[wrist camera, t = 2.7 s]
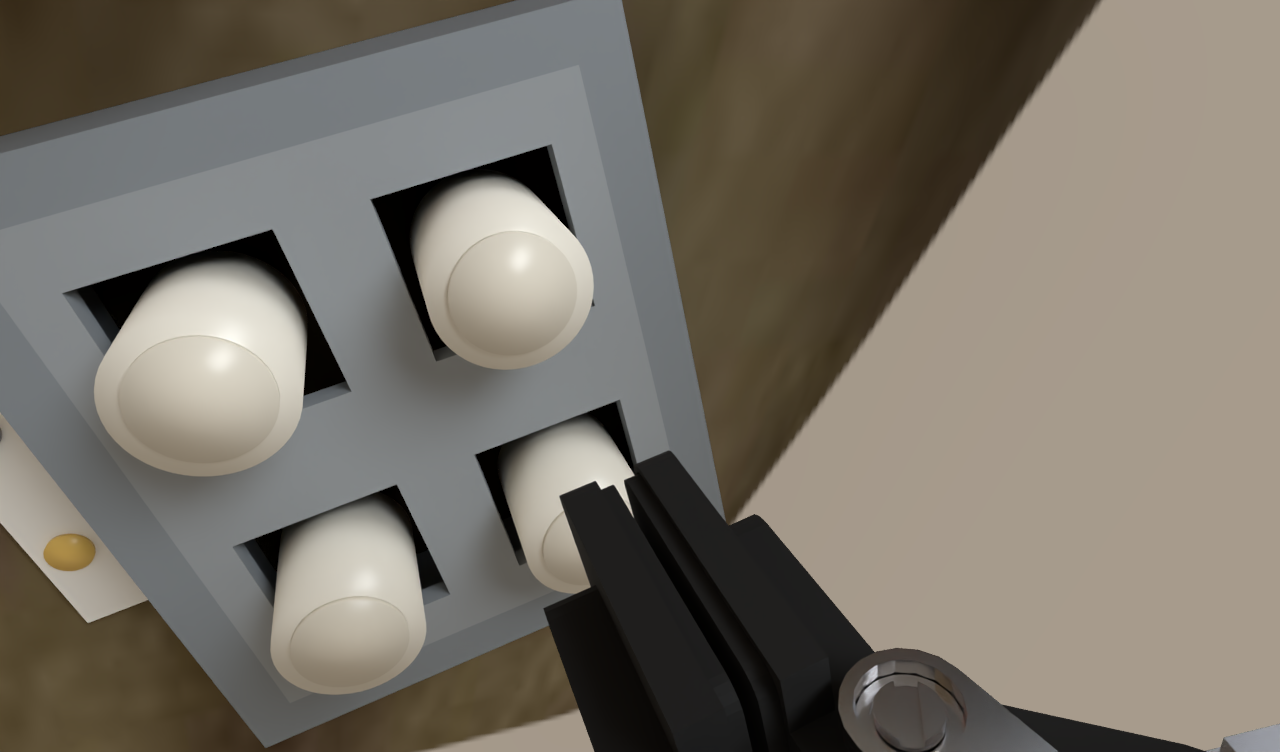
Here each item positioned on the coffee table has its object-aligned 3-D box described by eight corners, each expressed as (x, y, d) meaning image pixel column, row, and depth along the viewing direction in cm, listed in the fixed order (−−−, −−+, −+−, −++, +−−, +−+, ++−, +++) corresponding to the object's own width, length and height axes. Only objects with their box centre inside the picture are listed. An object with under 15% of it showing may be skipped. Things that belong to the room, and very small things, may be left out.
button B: (596, 390, 27) (644, 464, 23) (622, 481, 29) (670, 565, 25) (481, 433, 26) (509, 519, 22) (517, 524, 28) (548, 617, 24)
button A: (528, 150, 22) (572, 189, 18) (565, 280, 24) (612, 340, 20) (386, 194, 21) (400, 245, 17) (438, 323, 24) (460, 395, 19)
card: (20, 308, 22) (12, 317, 22) (205, 569, 28) (203, 582, 28) (-132, 354, 22) (-144, 364, 21) (91, 613, 27) (86, 627, 27)
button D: (385, 469, 25) (396, 564, 21) (430, 559, 27) (446, 661, 23) (256, 517, 24) (241, 626, 20) (312, 606, 27) (309, 720, 22)
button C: (268, 230, 21) (252, 291, 17) (331, 359, 23) (332, 442, 19) (106, 279, 20) (48, 356, 16) (188, 409, 22) (155, 506, 18)
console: (568, -14, 24) (618, -12, 20) (681, 477, 34) (730, 546, 30) (-66, 153, 20) (-169, 198, 16) (274, 643, 31) (265, 748, 26)
